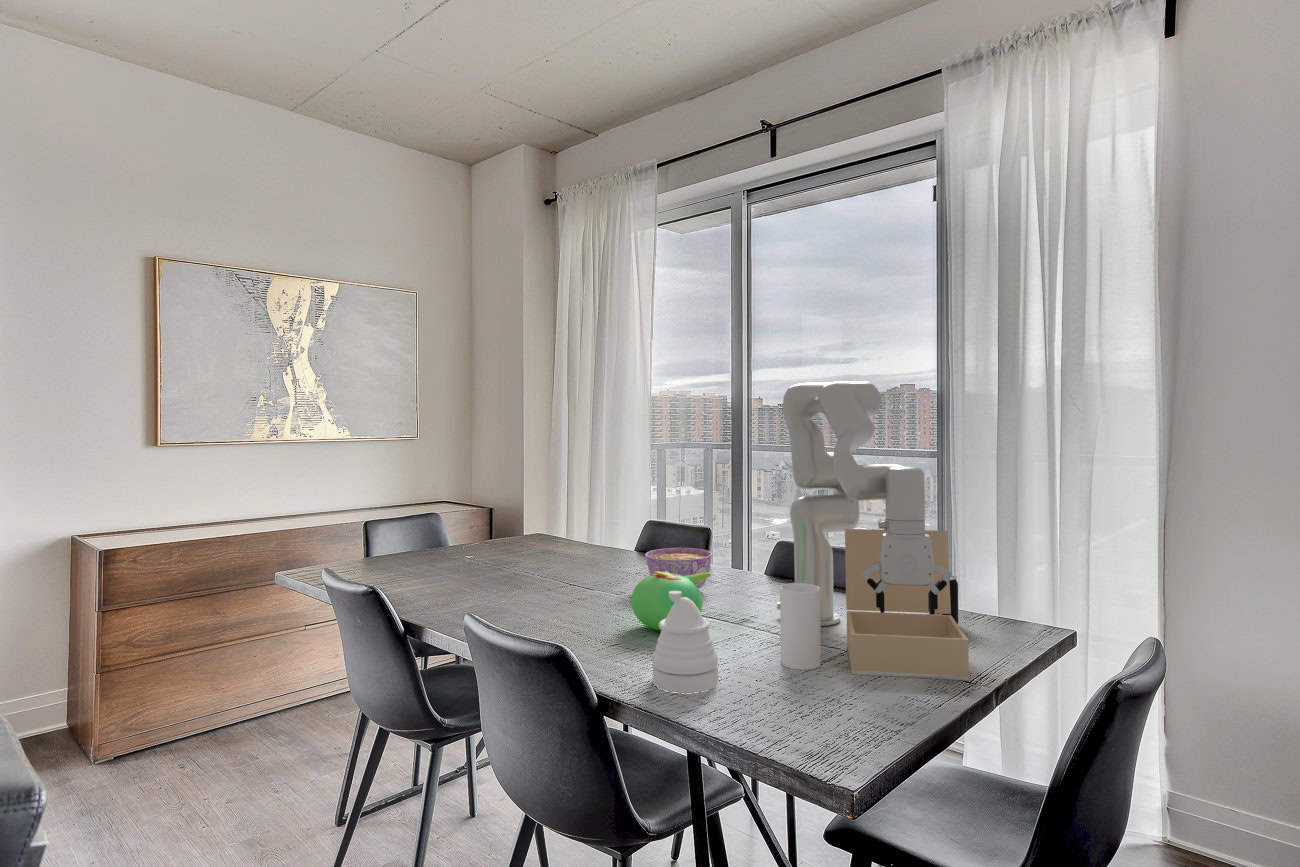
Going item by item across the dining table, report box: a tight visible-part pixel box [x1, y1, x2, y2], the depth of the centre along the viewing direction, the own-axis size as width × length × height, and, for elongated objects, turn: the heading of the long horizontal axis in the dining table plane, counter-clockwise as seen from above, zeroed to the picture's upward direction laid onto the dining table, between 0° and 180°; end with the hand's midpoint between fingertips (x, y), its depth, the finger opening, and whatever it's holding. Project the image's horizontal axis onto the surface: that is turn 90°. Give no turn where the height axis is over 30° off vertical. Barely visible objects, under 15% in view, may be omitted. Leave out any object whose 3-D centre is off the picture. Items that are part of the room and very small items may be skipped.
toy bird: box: [630, 571, 712, 632], centre depth 181 cm, size 18×17×15 cm
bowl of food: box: [644, 547, 713, 590], centre depth 219 cm, size 20×20×12 cm
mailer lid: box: [844, 528, 951, 614], centre depth 165 cm, size 22×19×1 cm
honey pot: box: [652, 591, 719, 693], centre depth 145 cm, size 13×13×18 cm
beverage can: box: [928, 575, 959, 625], centre depth 181 cm, size 7×7×12 cm
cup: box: [779, 582, 822, 671], centre depth 155 cm, size 8×8×16 cm
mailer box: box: [846, 610, 970, 682], centre depth 154 cm, size 22×18×8 cm
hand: (906, 612), depth 150 cm, fingers open, 9 cm apart
